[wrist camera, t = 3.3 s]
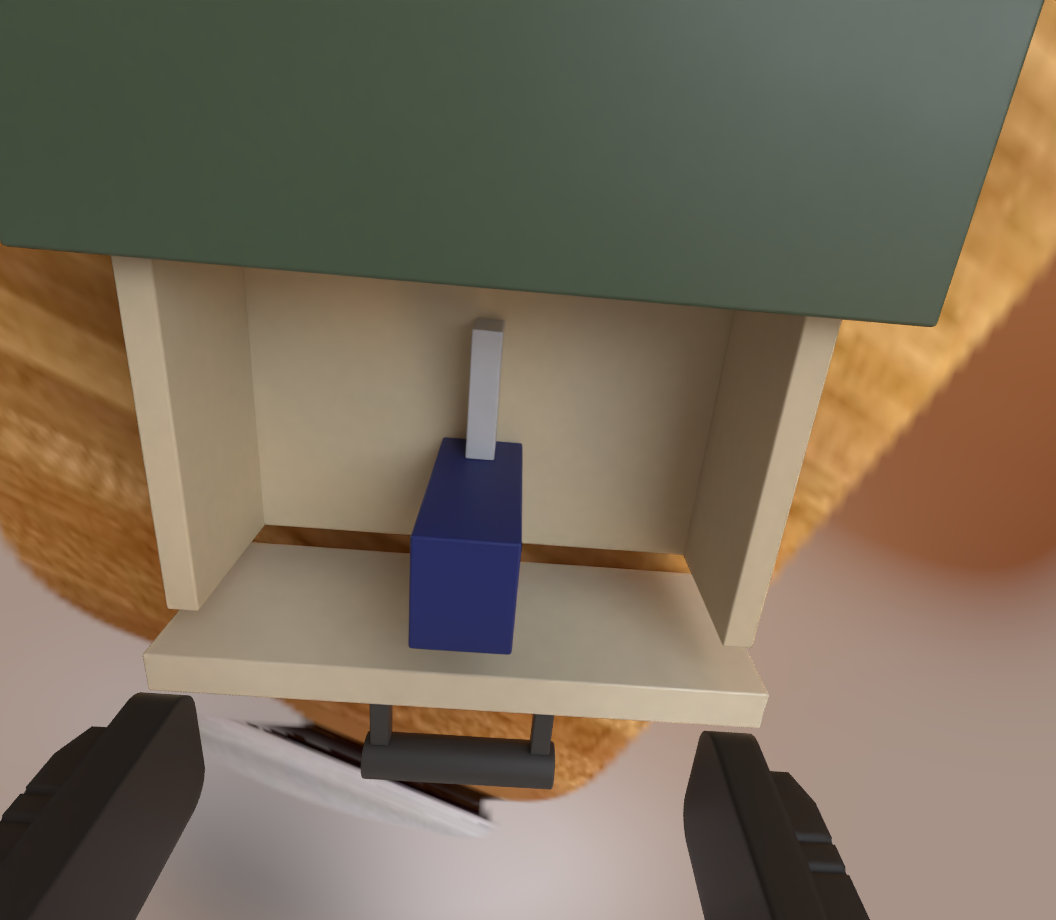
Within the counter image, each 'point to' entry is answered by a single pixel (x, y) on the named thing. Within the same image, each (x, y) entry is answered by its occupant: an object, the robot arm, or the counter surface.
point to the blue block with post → (470, 524)
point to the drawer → (402, 477)
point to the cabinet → (520, 142)
